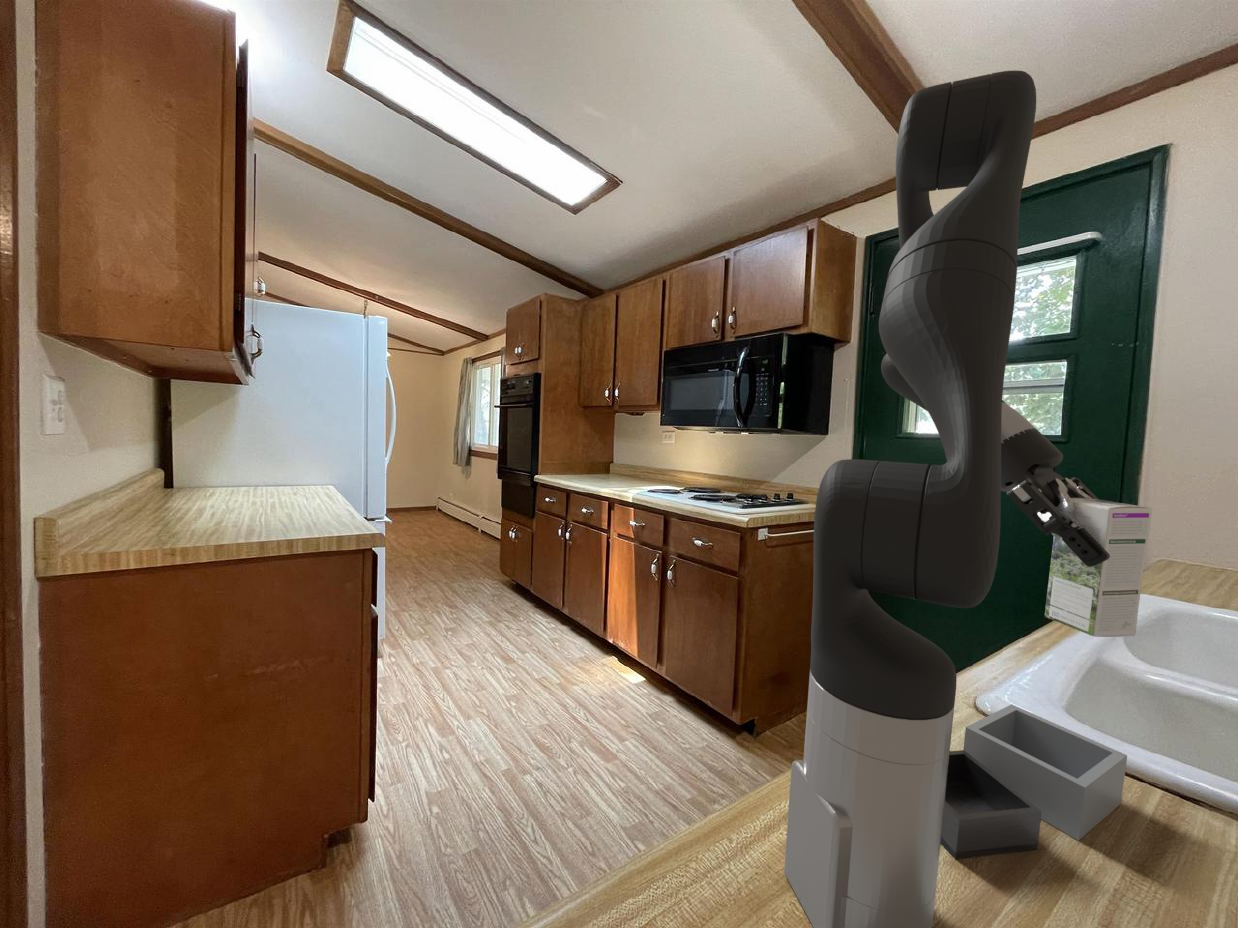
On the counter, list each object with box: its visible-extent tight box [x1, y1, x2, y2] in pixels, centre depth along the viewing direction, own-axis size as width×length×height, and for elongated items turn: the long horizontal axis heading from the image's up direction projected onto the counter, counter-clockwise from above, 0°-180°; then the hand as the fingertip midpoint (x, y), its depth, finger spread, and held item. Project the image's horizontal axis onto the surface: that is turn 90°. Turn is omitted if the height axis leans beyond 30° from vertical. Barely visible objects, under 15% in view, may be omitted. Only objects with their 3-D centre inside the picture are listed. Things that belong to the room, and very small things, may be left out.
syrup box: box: [1044, 498, 1153, 638], centre depth 57 cm, size 6×6×14 cm
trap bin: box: [940, 749, 1042, 860], centre depth 46 cm, size 8×8×4 cm
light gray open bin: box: [962, 704, 1128, 841], centre depth 51 cm, size 10×10×5 cm
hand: (1114, 558), depth 55 cm, fingers closed on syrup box, 7 cm apart
